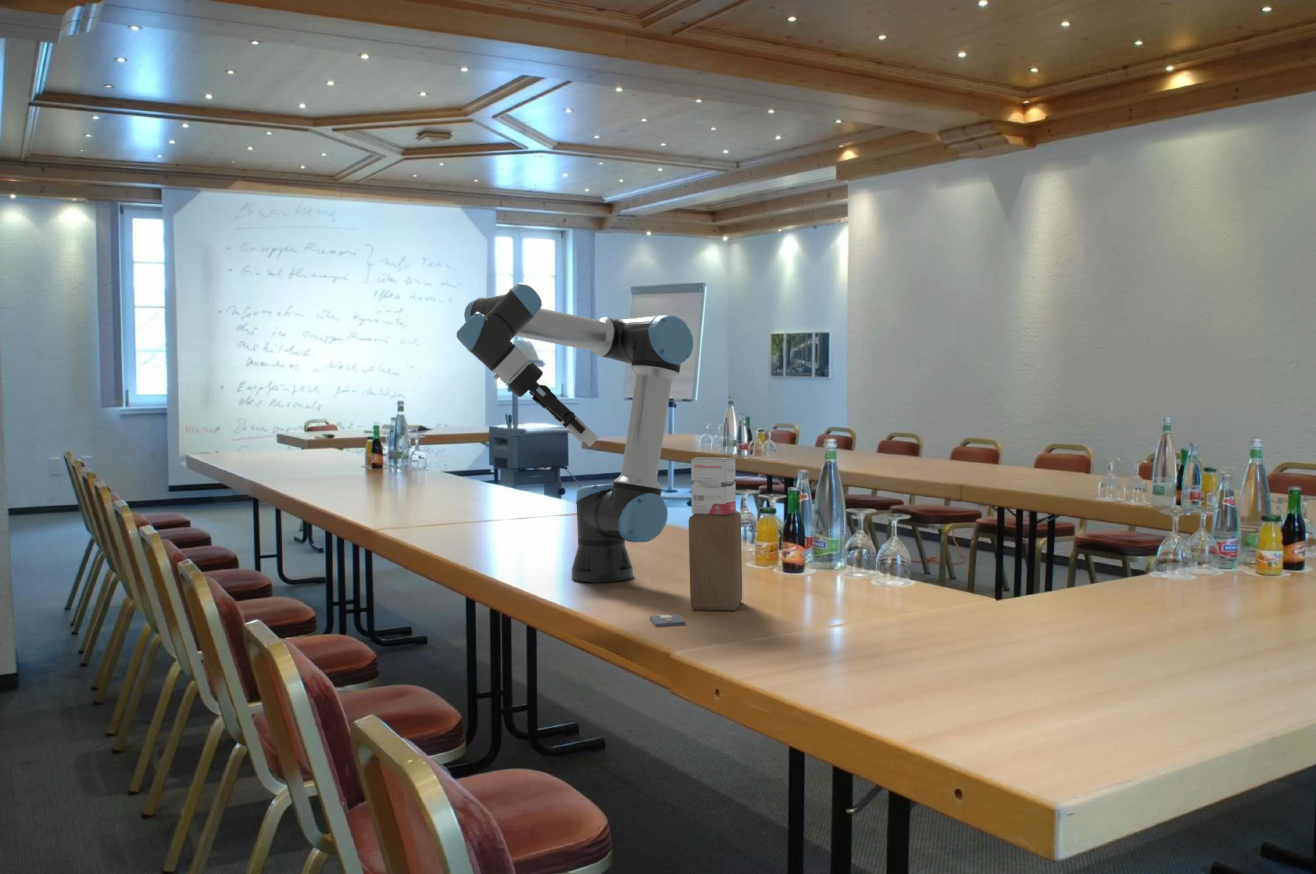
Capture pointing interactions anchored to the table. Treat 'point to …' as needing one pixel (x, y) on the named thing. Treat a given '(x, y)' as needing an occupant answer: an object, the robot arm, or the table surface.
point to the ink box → (713, 485)
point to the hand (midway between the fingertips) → (590, 440)
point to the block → (715, 561)
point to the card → (667, 620)
